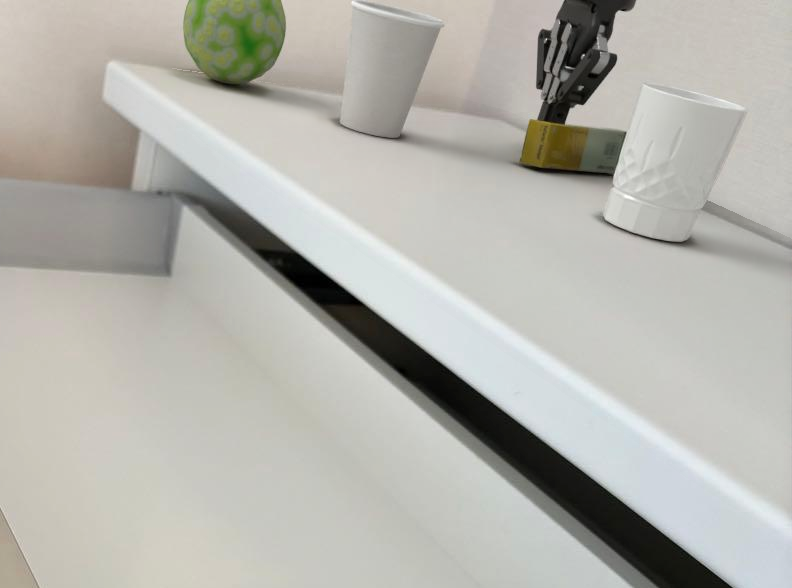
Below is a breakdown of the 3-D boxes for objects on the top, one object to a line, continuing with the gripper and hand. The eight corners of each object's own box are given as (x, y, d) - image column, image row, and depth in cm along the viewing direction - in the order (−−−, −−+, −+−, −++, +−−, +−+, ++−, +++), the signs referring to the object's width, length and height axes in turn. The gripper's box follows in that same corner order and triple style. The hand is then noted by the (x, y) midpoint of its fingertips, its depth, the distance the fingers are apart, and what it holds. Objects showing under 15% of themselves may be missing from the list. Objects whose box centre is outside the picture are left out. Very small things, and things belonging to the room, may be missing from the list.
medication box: (594, 169, 107) (606, 126, 106) (617, 175, 106) (630, 131, 104) (516, 162, 100) (528, 116, 98) (540, 168, 98) (552, 121, 97)
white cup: (671, 223, 90) (721, 97, 85) (710, 252, 84) (767, 116, 79) (582, 206, 89) (627, 76, 84) (614, 233, 82) (666, 94, 77)
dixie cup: (308, 118, 99) (334, -3, 94) (352, 114, 105) (378, 1, 100) (389, 144, 96) (420, 20, 90) (428, 139, 102) (460, 23, 97)
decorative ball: (292, 100, 105) (315, -14, 100) (198, 88, 101) (218, -32, 96) (247, 77, 112) (267, -31, 107) (158, 64, 108) (175, -49, 103)
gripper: (684, -39, 92) (606, 170, 101) (615, -54, 103) (551, 135, 112) (604, -59, 90) (533, 155, 99) (543, -72, 101) (484, 122, 110)
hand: (542, 144), depth 105 cm, fingers closed
